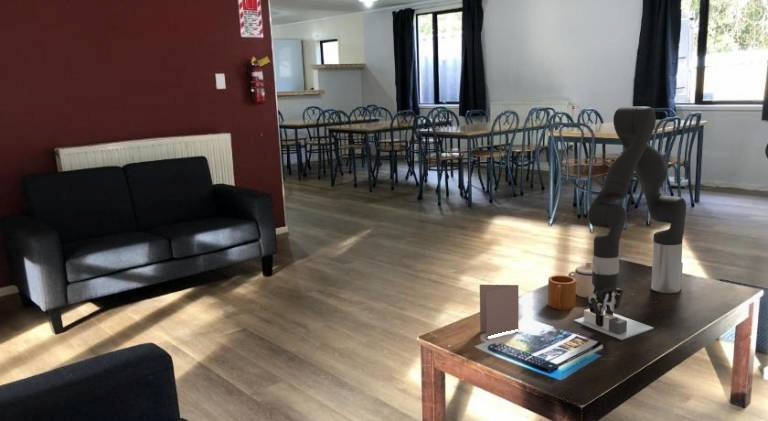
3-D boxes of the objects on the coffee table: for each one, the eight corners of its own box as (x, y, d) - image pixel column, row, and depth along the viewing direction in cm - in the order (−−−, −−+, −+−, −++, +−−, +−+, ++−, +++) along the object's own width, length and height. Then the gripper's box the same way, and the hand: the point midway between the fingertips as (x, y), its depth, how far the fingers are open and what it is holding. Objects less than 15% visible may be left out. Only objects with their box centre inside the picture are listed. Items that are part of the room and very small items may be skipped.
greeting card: (518, 331, 192) (518, 284, 189) (519, 341, 185) (519, 292, 182) (480, 330, 194) (479, 283, 191) (479, 340, 187) (479, 291, 184)
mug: (539, 309, 209) (539, 283, 207) (554, 298, 218) (554, 273, 217) (565, 314, 204) (565, 287, 202) (579, 303, 213) (580, 277, 211)
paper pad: (605, 311, 205) (605, 310, 205) (653, 328, 190) (653, 327, 189) (574, 321, 198) (574, 319, 198) (621, 339, 183) (621, 338, 183)
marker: (581, 319, 197) (581, 309, 196) (588, 317, 199) (589, 306, 198) (618, 334, 185) (619, 323, 184) (626, 331, 187) (626, 320, 186)
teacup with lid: (606, 293, 222) (607, 260, 219) (595, 300, 215) (596, 267, 213) (573, 286, 230) (574, 255, 227) (562, 293, 223) (562, 261, 221)
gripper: (611, 262, 195) (610, 315, 198) (578, 271, 188) (577, 326, 191) (632, 268, 188) (630, 322, 192) (599, 277, 182) (597, 333, 185)
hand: (604, 324), depth 192 cm, fingers closed on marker, 3 cm apart
